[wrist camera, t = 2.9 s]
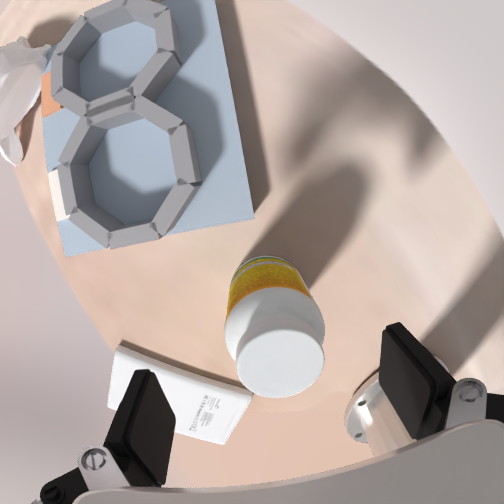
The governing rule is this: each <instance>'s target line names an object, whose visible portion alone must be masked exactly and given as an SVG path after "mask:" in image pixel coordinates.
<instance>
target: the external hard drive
mask: <svg viewBox="0 0 504 504" xmlns="http://www.w3.org/2000/svg"><path fill="white" fill-rule="evenodd" d="M137 369H149V370H150V371H151V372H154V373H155V374H156V377H157V379H158V381H159V383H160V385H161V388H162V390H163V392H164V394H165V396H166V398H167V400H168V402H169V404H170V406H171V408H172V410H173V412H174V414H175V417H176V425H175V430H174V432H177V433H180V434H183V435H187V436H191V437H194V438H198V439H201V440H205V441H210V442H213V443H217V444H222V445H224V444H225V443H226V441H227V439H228V438H229V436H230V434H231V433H232V431H233V430H234V428H235V426H236V425H237V423H238V422H239V420H240V418H241V417H242V415H243V413H244V412H245V410H246V408H247V407H248V405H249V403H250V402H251V399H252V397H253V394H252V391H250V390H248V389H244V388H240V387H237V386H234V385H230V384H227V383H223V382H220V381H217V380H213V379H210V378H207V377H204V376H201V375H198V374H195V373H192V372H189V371H186V370H183V369H180V368H177V367H174V366H172V365H169V364H166V363H164V362H161V361H158V360H156V359H153V358H151V357H148V356H145V355H143V354H141V353H138V352H136V351H133V350H131V349H128V348H126V347H124V346H121V345H119V346H118V347H117V349H116V351H115V355H114V361H113V368H112V374H111V381H110V389H109V395H108V405H107V407H109V408H111V409H114V410H116V411H117V409H118V406H119V404H120V402H121V401H122V399H123V397H124V394H125V392H126V390H127V387H128V385H129V382H130V380H131V378H132V375H133V373H134V371H135V370H137Z"/></svg>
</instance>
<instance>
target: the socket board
mask: <svg viewBox="0 0 504 504" xmlns="http://www.w3.org/2000/svg"><path fill="white" fill-rule="evenodd" d="M46 59H47V64H46V67H45V70H44V73H43V75H42V76H41V100H42V122H43V136H44V146H45V155H46V163H47V170H48V177H49V184H50V190H51V195H52V201H53V206H54V210H55V215H56V220H57V224H58V228H59V232H60V236H61V240H62V244H63V248H64V252H65V255H66V257H69V256H73V255H78V254H82V253H86V252H91V251H95V250H100V249H104V248H109V247H110V249H115V248H120V247H124V246H129V245H134V244H139V243H144V242H148V241H153V240H158V239H160V238H162V237H163V236H166V235H171V234H176V233H181V232H186V231H191V230H197V229H202V228H207V227H212V226H218V225H223V224H229V223H234V222H240V221H245V220H251V219H255V218H254V212H253V207H252V201H251V195H250V189H249V184H248V178H247V172H246V167H245V161H244V156H243V150H242V144H241V139H240V133H239V128H238V122H237V117H236V111H235V106H234V100H233V95H232V89H231V84H230V79H229V73H228V68H227V62H226V57H225V52H224V46H223V41H222V36H221V31H220V25H219V20H218V15H217V10H216V4H215V0H164V1H161V2H157V3H156V2H153V1H150V0H112V1H109V2H107V3H104V4H102V5H100V6H97V7H95V8H93V9H91V10H88V11H86V12H84V16H82V15H81V16H80V17H79V18H78V19H77V21H76V22H75V23H74V24H73V26H72V27H71V28H70V30H69V31H68V32H67V33H66V35H65V36H64V38H63V39H62V40H61V42H59V43H57V44H55V45H54V46H52V49H51V50H50V52H49V53H48V54H47V55H46Z"/></svg>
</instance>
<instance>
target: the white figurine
mask: <svg viewBox="0 0 504 504" xmlns="http://www.w3.org/2000/svg"><path fill="white" fill-rule="evenodd" d="M51 49H52V46H51V45H49V44H45V45H44V46H43V47H38V48H31V46H30V45H29V43H28V41H27V39H26V37H19V38H18V40H17V42H12V43H10V44H7V45H6V46H2V47H0V152H1V154H2V156H3V157H4V158H5V159H6V160H7V161H8V162H10V163H12V164H13V165H14V166H18V165H19V164H20V162H21V161H22V158H23V156H24V155H23V150H22V145H21V142H20V140H19V138H18V136H17V134H16V132H15V130H14V128H15V127H16V126H17V125H18V123H19V122H20V121H21V120H22V119H23V117H24V116H25V115H26V114H27V113H28V111H29V109H30V108H32V107H33V106H34V104H35V102H36V101H37V98H38V97H39V95H40V91H41V76H42V75H43V73H44V70H45V67H46V64H47V59H46V55H47V54H48V53H49V52H50V50H51Z"/></svg>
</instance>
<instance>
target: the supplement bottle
mask: <svg viewBox="0 0 504 504" xmlns="http://www.w3.org/2000/svg"><path fill="white" fill-rule="evenodd" d="M324 335H325V325H324V320H323V317H322V314H321V312H320V310H319V308H318V306H317V304H316V302H315V300H314V299H313V297H312V295H311V293H310V291H309V289H308V288H307V286H306V284H305V282H304V280H303V278H302V277H301V275H300V273H299V272H298V270H297V269H296V268H295V267H294V266H293V265H292V264H291V263H290V262H288V261H287V260H284V259H282V258H279V257H275V256H259V257H255V258H252V259H250V260H248V261H247V262H245V263H244V264H242V265H241V266H240V267H239V268H238V269H237V271H236V272H235V274H234V276H233V278H232V281H231V285H230V291H229V299H228V307H227V316H226V322H225V342H226V345H227V348H228V351H229V353H230V355H231V356H232V358H233V359H234V360H235V361H236V370H237V373H238V376H239V379H240V381H241V382H242V383H243V385H244V386H245V387H246V388H247V389H249V390H250V391H252V392H253V393H255V394H258V395H261V396H264V397H269V398H282V397H288V396H292V395H295V394H298V393H300V392H302V391H304V390H305V389H307V388H308V387H310V386H311V385H312V384H313V383H314V382H315V381H316V380H317V378H318V377H319V376H320V374H321V372H322V370H323V366H324V352H323V348H322V344H323V340H324Z"/></svg>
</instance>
